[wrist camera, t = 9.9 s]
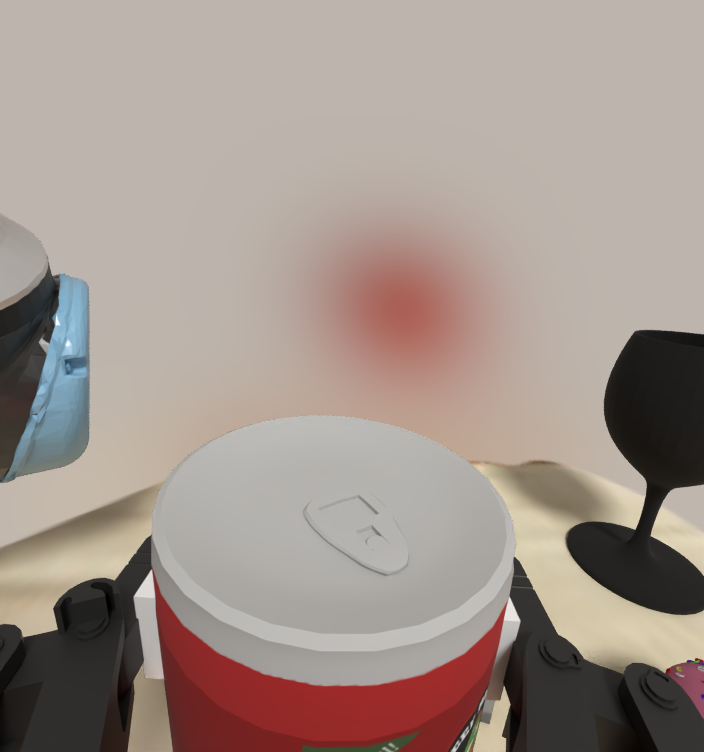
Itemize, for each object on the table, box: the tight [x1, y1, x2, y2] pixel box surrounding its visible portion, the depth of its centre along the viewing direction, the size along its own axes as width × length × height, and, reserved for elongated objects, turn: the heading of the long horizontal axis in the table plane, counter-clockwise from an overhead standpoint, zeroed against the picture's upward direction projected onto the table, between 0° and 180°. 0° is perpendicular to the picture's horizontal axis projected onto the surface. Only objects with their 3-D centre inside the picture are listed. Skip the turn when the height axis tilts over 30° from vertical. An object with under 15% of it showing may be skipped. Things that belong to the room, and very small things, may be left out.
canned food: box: [151, 415, 516, 752], centre depth 10 cm, size 8×8×11 cm
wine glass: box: [567, 330, 704, 615], centre depth 31 cm, size 10×10×20 cm
